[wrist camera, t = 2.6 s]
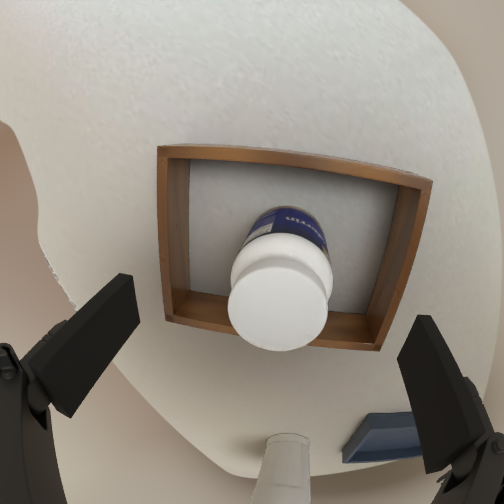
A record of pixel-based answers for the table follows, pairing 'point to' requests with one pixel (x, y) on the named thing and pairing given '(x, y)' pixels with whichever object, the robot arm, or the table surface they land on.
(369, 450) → the tray
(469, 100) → the table surface
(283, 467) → the cup
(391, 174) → the wooden frame
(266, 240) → the pill bottle
